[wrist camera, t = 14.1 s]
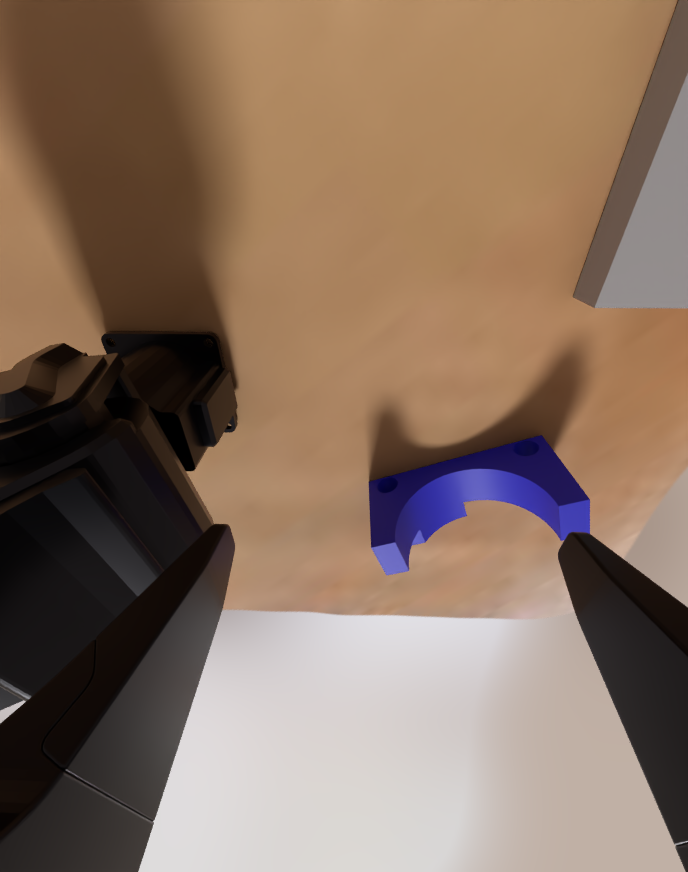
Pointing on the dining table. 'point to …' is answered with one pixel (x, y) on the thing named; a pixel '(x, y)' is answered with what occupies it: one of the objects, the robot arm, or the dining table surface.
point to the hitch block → (648, 197)
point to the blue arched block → (472, 496)
